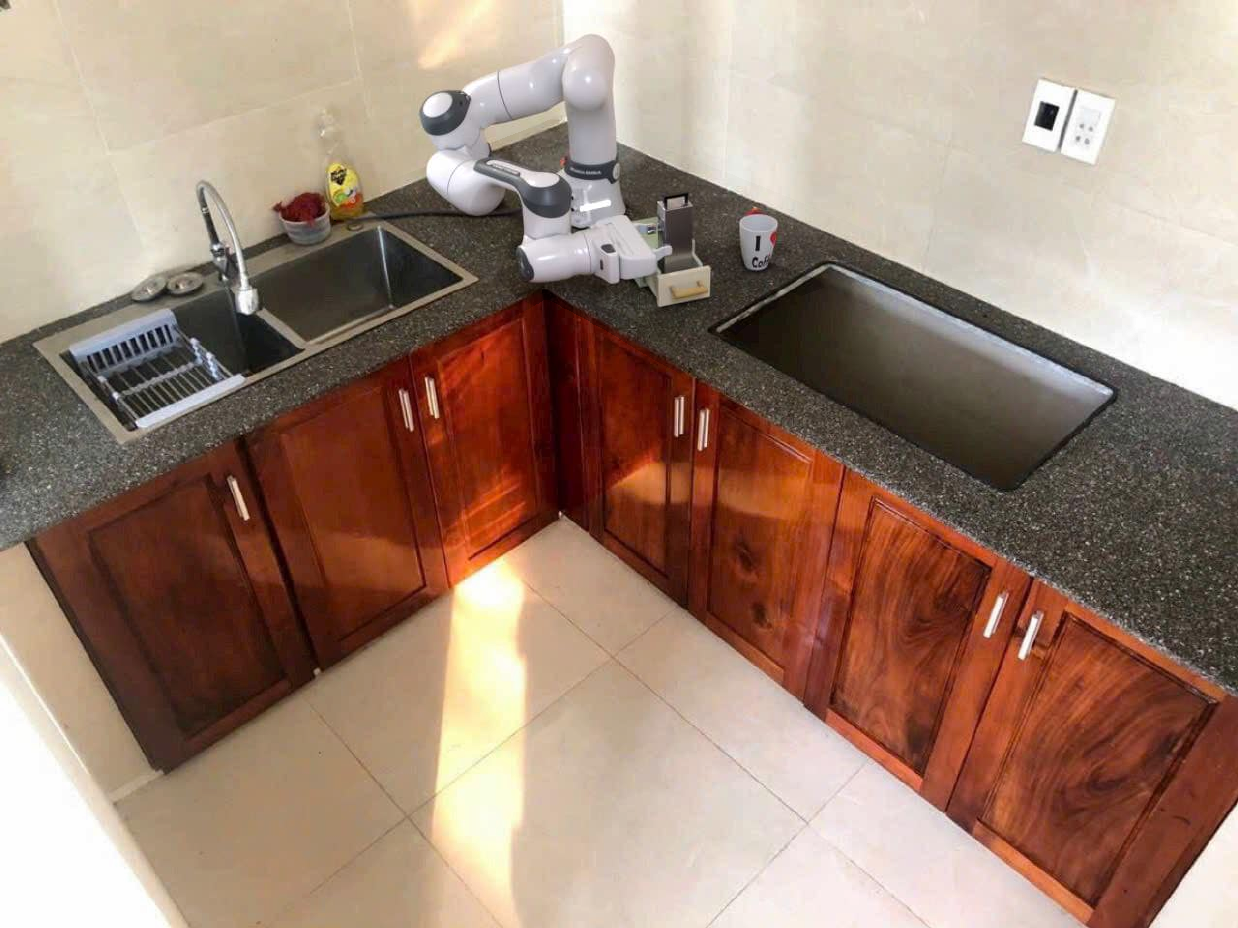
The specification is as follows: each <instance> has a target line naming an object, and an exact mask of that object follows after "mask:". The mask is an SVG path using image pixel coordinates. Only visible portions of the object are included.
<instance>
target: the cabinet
mask: <svg viewBox="0 0 1238 928" xmlns="http://www.w3.org/2000/svg"><path fill="white" fill-rule="evenodd" d="M630 221H631V222H632V223H642V224H650V223H653V224H654V225H655V226H656V233H655V234H651V235H648V234H647V233H640V235H641V236H642V237H643V239H644V240H645V242H646V243H647V244H648V246H649V247H650V248H651V249H654V248H655V249H656V250H657V249H658V216H652V217H649V218H643V219H638V220H630ZM692 251H693V252H694V253H695V254H696V240H695V239H694V238H692ZM633 280H634V281H635V283H636V284H637V286H638V288H644V287H649V286H648V284H647V283H646V281H645V280H644V279H643V277H639V278H634V279H633Z"/></svg>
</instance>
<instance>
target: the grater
mask: <svg viewBox="0 0 1238 928" xmlns="http://www.w3.org/2000/svg"><path fill="white" fill-rule="evenodd" d="M661 199H662V200H659V201H657V217H658V249H659V248H661V247H662V245H663V244H670V246H671V247H672V254H671V255H667V256H664V257H662V258H661V259H660V260H658V268H659V270H660V271H661V275H662V274H667V273H672V272H677V271H683V270H688V269H692V238H693V234H694V229H693V228H694V227H693V226H694V205H693V203H692V202H691V201H690V200H689V191H688V190H687V189H686V190H685V189H684V190H679V191H673V192H669V193H663V194H661ZM693 239H694V238H693Z"/></svg>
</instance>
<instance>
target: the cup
mask: <svg viewBox="0 0 1238 928" xmlns="http://www.w3.org/2000/svg"><path fill="white" fill-rule="evenodd" d="M777 231H778V221H777V219H776V218H775V217H772V216H771V215H767V214H765V215H760V214H756V215H749V216H746V217H745V216H743V217H742V218H741V219H740V220H739V245H740V253H741V258H742V261H743V265H744V266H745V268H747V269H748V270H752V271H762V270H764V269H766V268H767V267H768V265H769V264H770V261H771V258H772V255H773V252H774V247H775V243H776V239H777Z"/></svg>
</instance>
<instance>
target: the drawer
mask: <svg viewBox="0 0 1238 928" xmlns="http://www.w3.org/2000/svg"><path fill="white" fill-rule="evenodd" d="M643 279H644V280H645V281H646V283H647V284H648V286H647V287H649V289H650V290H651V292H652V293H653V295H654V296H655V297H656V305H657V307H658V308H661V307H665V306H670V305H675V304H681V303H685V302H691V301H695V300H699V299H705V298H710V297H711V266H709V265H704V263H703V262H702V261H701V260H700V258H699V257H698V255H697V254H696V252H695V253H694V252H693V251H692V269H688V270H683V271H677V272H672V273H667V274H662V275H661V271H660V270H659V268H658V261H657V270H656V271H655V272H654V273H653V274H651V275H648V276H644V277H643Z"/></svg>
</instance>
